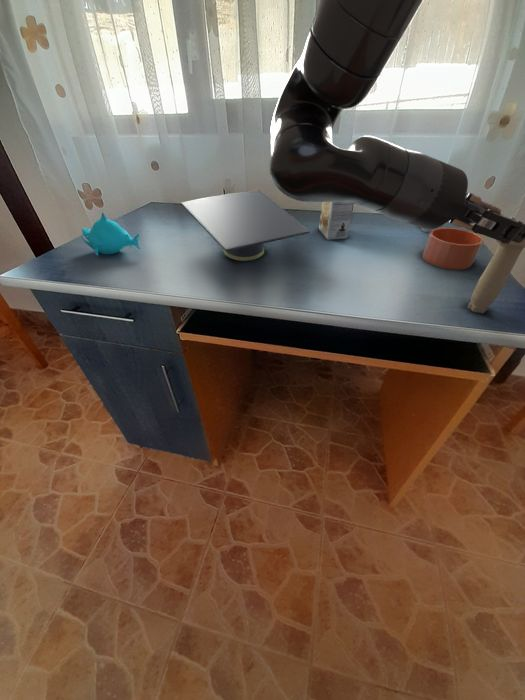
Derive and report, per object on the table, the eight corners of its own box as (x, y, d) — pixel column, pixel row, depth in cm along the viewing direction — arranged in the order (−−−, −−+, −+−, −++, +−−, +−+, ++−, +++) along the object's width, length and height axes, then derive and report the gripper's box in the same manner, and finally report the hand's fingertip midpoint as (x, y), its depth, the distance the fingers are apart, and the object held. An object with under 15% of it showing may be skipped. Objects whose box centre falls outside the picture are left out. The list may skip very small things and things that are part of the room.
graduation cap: (185, 239, 85) (179, 201, 77) (257, 224, 93) (258, 188, 85) (224, 292, 68) (221, 250, 61) (307, 269, 76) (314, 230, 69)
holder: (478, 259, 75) (489, 235, 71) (462, 274, 69) (474, 249, 65) (432, 247, 81) (440, 224, 77) (414, 260, 75) (422, 236, 71)
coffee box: (318, 229, 93) (324, 170, 82) (337, 228, 93) (346, 169, 83) (327, 240, 86) (335, 177, 75) (348, 238, 87) (359, 176, 76)
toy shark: (101, 243, 86) (87, 203, 79) (155, 250, 81) (145, 209, 74) (76, 257, 79) (57, 214, 72) (134, 265, 74) (120, 221, 67)
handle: (500, 313, 57) (548, 235, 47) (472, 318, 56) (515, 239, 46) (480, 300, 61) (521, 225, 51) (453, 305, 59) (490, 229, 50)
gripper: (472, 173, 31) (570, 214, 36) (406, 146, 41) (489, 181, 46) (425, 241, 36) (517, 269, 41) (377, 202, 46) (455, 228, 51)
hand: (502, 223), depth 43 cm, fingers open, 8 cm apart
